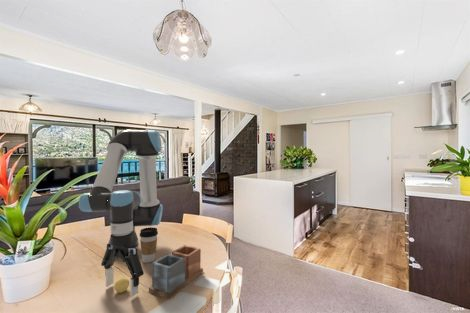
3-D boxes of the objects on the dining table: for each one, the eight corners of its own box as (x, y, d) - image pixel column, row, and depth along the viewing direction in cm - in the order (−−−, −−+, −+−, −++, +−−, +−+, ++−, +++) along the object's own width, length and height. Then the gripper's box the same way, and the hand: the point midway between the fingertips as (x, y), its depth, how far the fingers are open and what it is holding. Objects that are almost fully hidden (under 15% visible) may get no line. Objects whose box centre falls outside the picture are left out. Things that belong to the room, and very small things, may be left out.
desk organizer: (148, 291, 85) (148, 263, 84) (184, 266, 103) (184, 243, 103) (169, 299, 80) (169, 269, 80) (203, 271, 99) (203, 248, 99)
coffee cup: (146, 265, 104) (147, 233, 104) (135, 260, 109) (135, 229, 109) (161, 258, 111) (161, 228, 111) (150, 254, 116) (150, 225, 116)
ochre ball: (111, 293, 83) (111, 279, 83) (123, 286, 88) (123, 273, 88) (120, 297, 81) (120, 283, 81) (132, 289, 86) (132, 276, 86)
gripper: (91, 230, 86) (90, 286, 86) (137, 241, 75) (136, 305, 75) (109, 225, 93) (109, 276, 93) (154, 234, 82) (153, 293, 82)
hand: (121, 289), depth 84 cm, fingers open, 13 cm apart
